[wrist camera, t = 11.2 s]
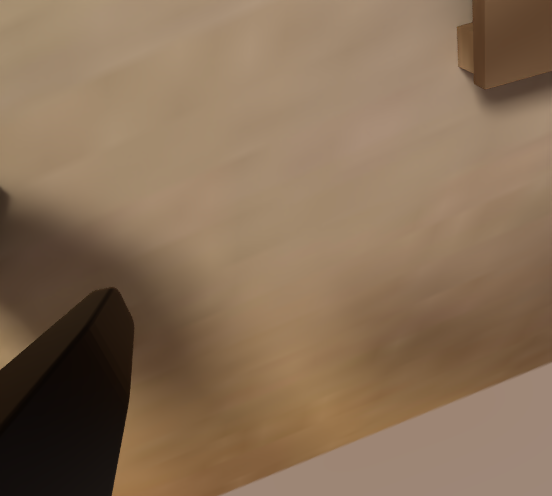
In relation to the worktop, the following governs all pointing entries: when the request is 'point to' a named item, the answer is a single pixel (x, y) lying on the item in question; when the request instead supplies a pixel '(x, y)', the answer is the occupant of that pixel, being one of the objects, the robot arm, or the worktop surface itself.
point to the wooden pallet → (506, 41)
